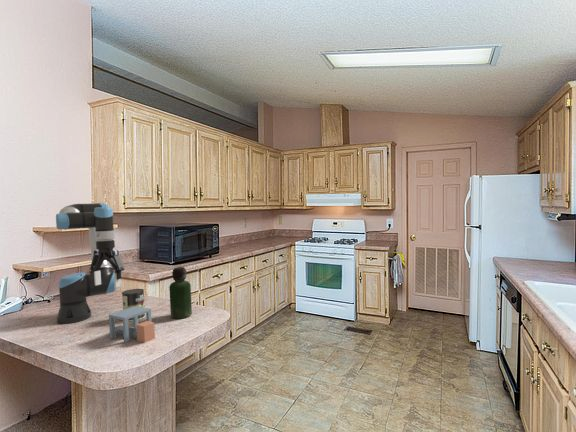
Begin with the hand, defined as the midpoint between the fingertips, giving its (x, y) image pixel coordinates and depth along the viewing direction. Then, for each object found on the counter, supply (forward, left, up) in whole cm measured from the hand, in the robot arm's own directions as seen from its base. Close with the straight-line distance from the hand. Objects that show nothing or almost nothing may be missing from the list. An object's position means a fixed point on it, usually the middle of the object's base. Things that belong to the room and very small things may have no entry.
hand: (107, 285), depth 151 cm
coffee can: (-4, +16, -21) cm, 27 cm away
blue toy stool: (+15, 0, -21) cm, 26 cm away
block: (+26, -1, -21) cm, 33 cm away
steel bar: (+14, 0, -21) cm, 26 cm away
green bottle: (+17, +28, -21) cm, 39 cm away
